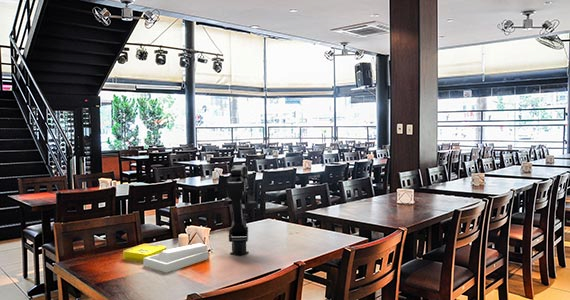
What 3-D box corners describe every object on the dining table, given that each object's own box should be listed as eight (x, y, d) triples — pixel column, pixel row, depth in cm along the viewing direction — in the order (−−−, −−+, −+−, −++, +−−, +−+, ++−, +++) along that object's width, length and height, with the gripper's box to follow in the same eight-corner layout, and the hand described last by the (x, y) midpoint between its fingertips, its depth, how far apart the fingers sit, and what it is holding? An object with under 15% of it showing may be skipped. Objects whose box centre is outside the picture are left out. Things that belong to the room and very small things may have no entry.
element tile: (168, 254, 210) (168, 245, 210) (145, 264, 197) (145, 253, 197) (144, 251, 217) (144, 242, 217) (121, 260, 203) (120, 250, 203)
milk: (201, 255, 207) (156, 265, 194) (200, 242, 207) (155, 251, 194) (207, 257, 203) (161, 268, 189) (207, 245, 202) (161, 254, 189)
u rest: (208, 258, 201) (208, 251, 201) (166, 272, 183) (166, 264, 183) (186, 253, 211) (185, 246, 211) (143, 265, 193) (143, 258, 193)
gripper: (264, 189, 221) (265, 220, 222) (238, 186, 232) (238, 216, 233) (249, 192, 212) (250, 224, 213) (222, 189, 223) (223, 219, 224)
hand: (241, 220), depth 221 cm, fingers closed
